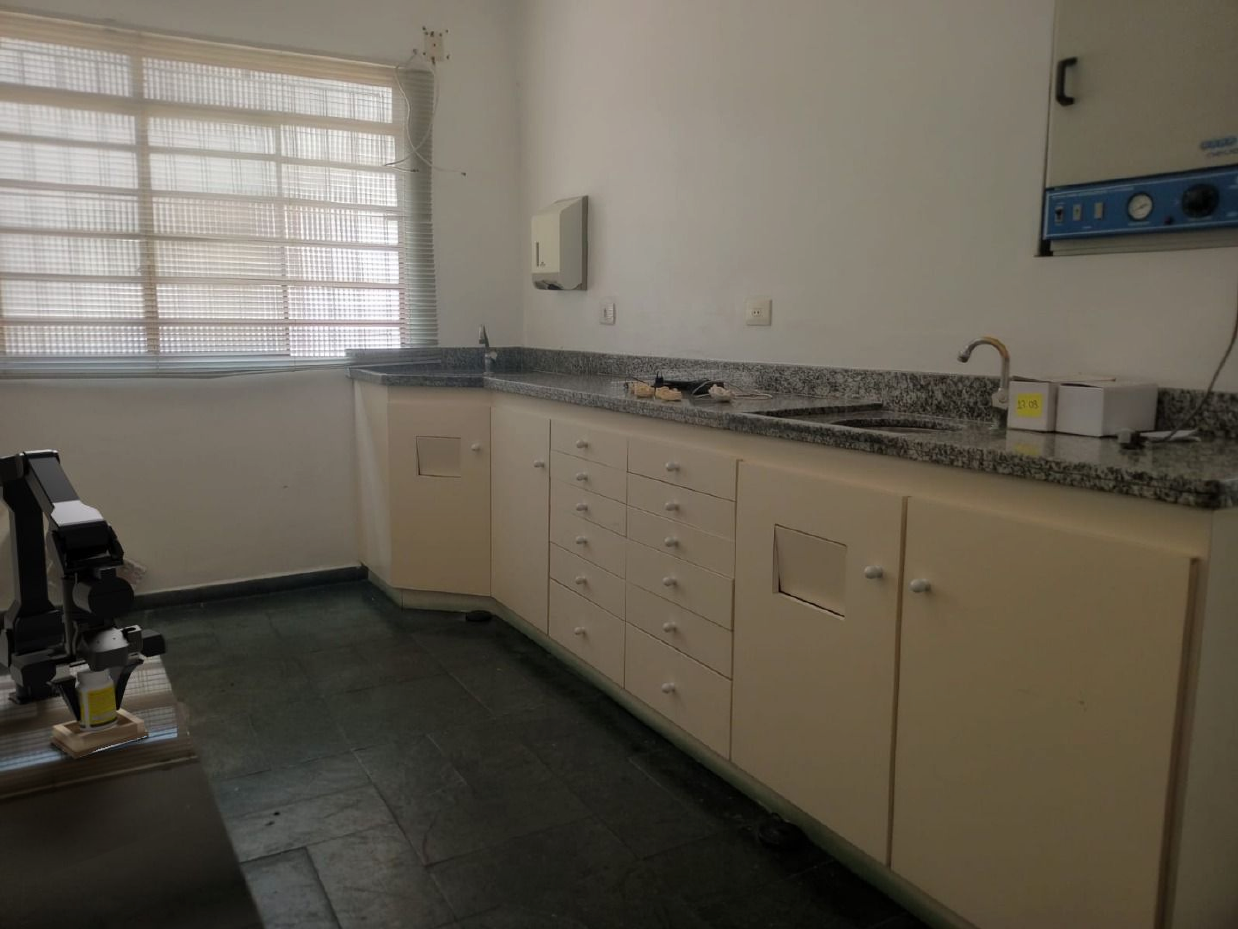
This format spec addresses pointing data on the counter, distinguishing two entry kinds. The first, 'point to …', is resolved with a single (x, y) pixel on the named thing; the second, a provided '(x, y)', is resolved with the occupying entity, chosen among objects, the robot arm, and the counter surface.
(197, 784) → the counter surface
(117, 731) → the jig cradle
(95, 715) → the supplement bottle
